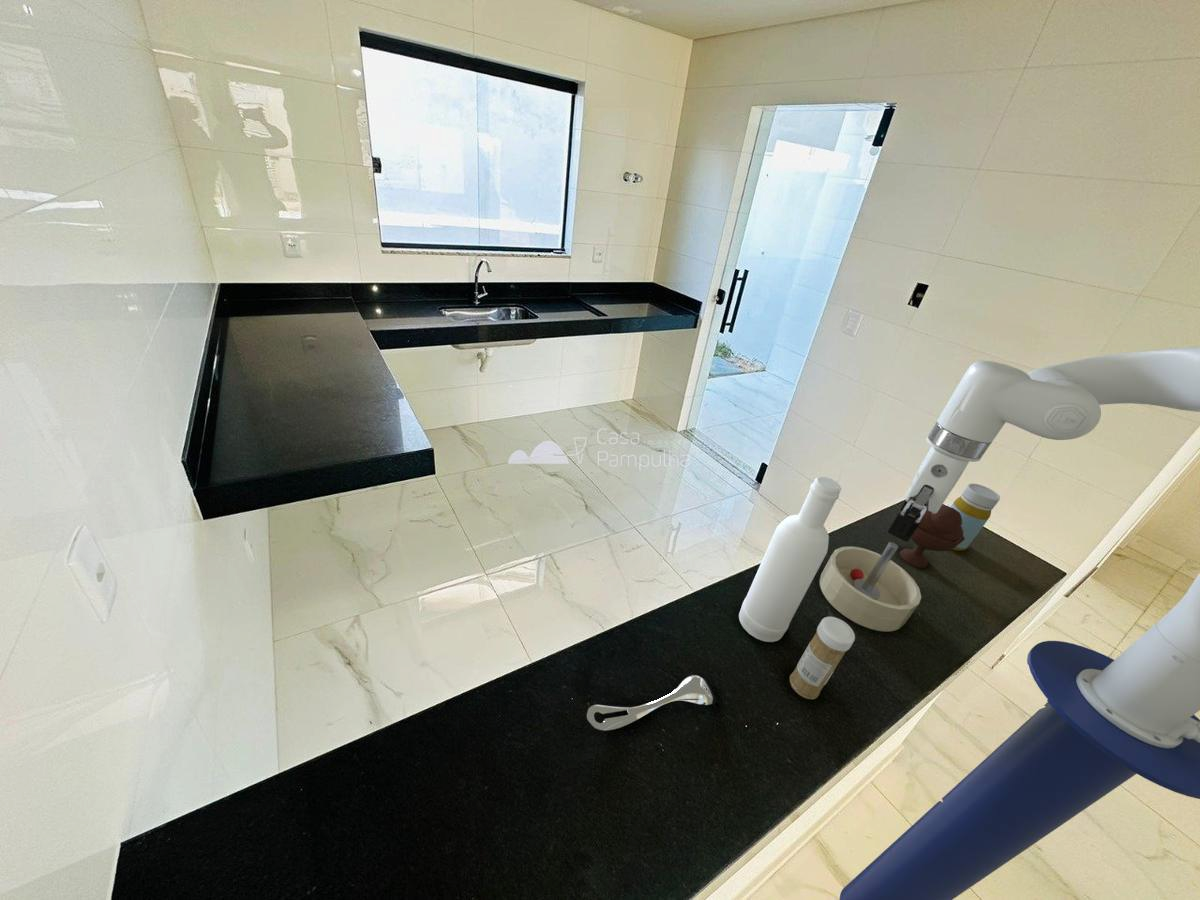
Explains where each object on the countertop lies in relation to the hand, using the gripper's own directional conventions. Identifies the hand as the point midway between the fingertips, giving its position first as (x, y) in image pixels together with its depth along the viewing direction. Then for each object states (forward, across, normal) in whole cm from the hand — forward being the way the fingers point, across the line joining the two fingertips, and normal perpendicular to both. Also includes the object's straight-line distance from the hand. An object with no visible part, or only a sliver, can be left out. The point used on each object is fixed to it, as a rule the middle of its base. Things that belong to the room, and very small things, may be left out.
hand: (903, 524), depth 80 cm
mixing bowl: (+18, 0, 0) cm, 18 cm away
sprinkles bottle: (+18, -28, 0) cm, 33 cm away
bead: (+16, +4, +2) cm, 17 cm away
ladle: (+18, 0, 0) cm, 18 cm away
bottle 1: (+18, -22, +10) cm, 30 cm away
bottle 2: (+18, +38, -10) cm, 44 cm away
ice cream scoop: (+19, -48, +15) cm, 54 cm away
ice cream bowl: (+18, +23, -6) cm, 30 cm away
